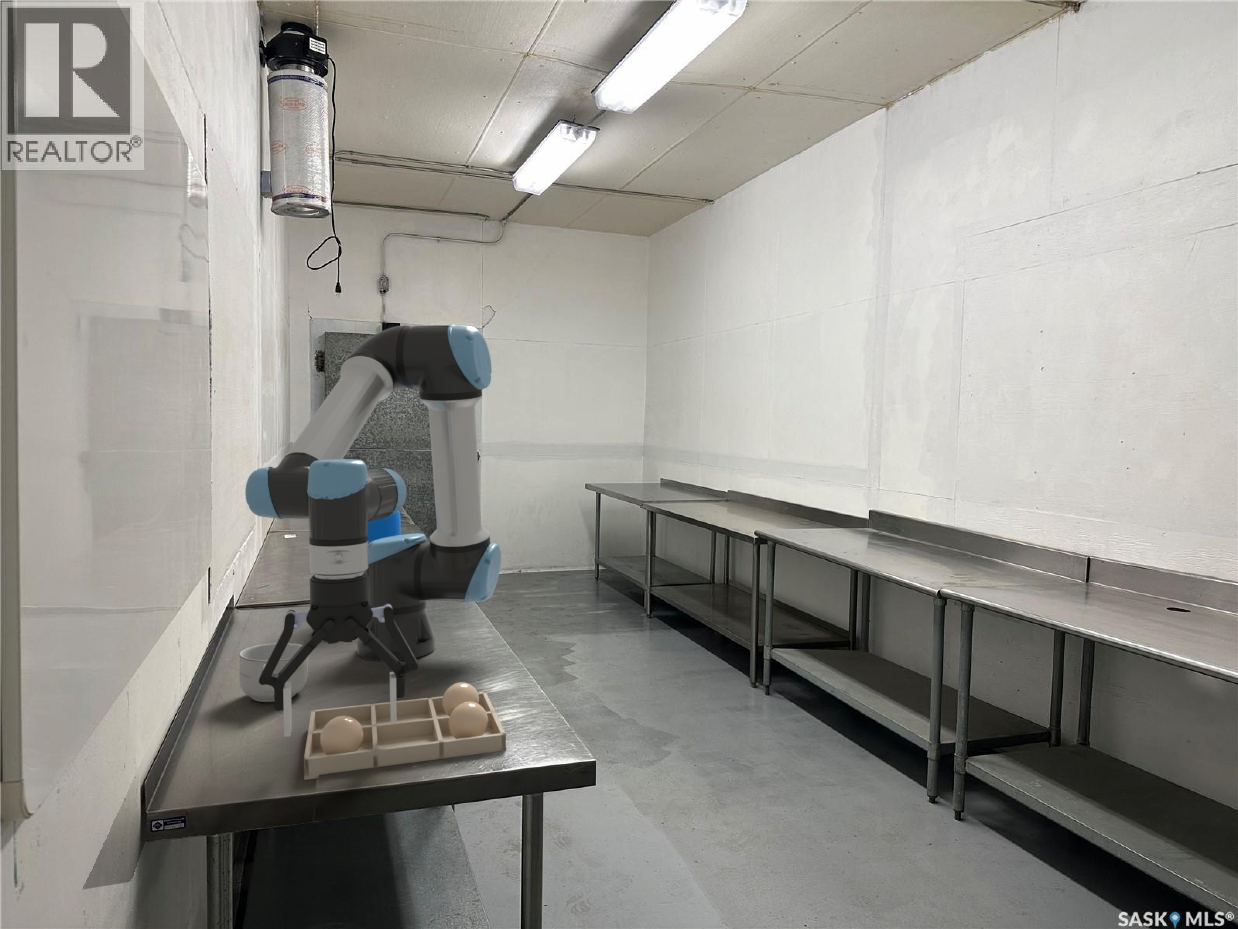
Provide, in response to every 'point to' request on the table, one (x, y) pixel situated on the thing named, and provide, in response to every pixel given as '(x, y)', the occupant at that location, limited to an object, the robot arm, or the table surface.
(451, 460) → the robot arm
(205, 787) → the table surface
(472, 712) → the egg front left
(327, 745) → the egg
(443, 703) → the egg back left
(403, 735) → the carton
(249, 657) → the teacup
